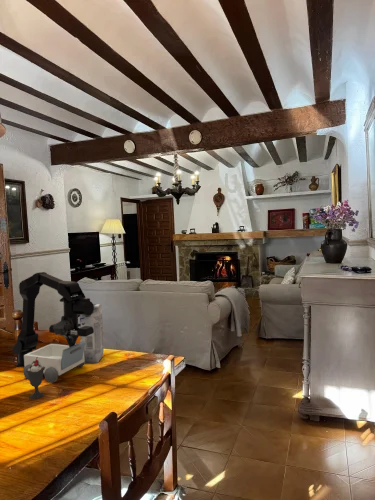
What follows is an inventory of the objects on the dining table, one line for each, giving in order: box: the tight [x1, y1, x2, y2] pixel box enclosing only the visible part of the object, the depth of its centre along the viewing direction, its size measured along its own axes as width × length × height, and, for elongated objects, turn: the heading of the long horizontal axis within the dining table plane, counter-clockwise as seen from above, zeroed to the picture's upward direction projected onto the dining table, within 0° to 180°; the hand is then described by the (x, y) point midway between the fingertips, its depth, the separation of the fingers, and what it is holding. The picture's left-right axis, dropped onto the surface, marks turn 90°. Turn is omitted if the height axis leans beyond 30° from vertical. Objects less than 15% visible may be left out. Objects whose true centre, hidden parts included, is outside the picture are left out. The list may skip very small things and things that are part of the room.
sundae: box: [26, 357, 45, 400], centre depth 132 cm, size 7×7×15 cm
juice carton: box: [79, 303, 104, 364], centre depth 168 cm, size 9×10×27 cm
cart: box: [23, 343, 86, 384], centre depth 154 cm, size 18×18×10 cm
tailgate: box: [61, 341, 85, 370], centre depth 150 cm, size 2×13×8 cm, turn 159°
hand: (71, 349), depth 150 cm, fingers closed
